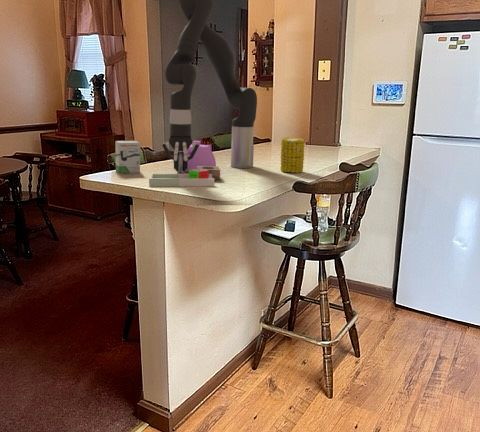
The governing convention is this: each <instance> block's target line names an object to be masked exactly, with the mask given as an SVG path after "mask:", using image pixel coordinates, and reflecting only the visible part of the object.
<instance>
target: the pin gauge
mask: <svg viewBox="0 0 480 432" xmlns="http://www.w3.org/2000/svg"><path fill="white" fill-rule="evenodd" d="M177 161H178V171H176V174H185V172H184V152H183V151H178V156H177Z"/></svg>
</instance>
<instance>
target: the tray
mask: <svg viewBox="0 0 480 432" xmlns="http://www.w3.org/2000/svg"><path fill="white" fill-rule="evenodd" d="M148 187H180V186H179V178H178V174H177V173H149V177H148Z"/></svg>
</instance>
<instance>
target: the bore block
mask: <svg viewBox="0 0 480 432" xmlns="http://www.w3.org/2000/svg"><path fill="white" fill-rule="evenodd" d="M197 169H205V170H209V174H212V178H214V182H216V181H221V168H220V167H219V166H218V165H216V166H197Z"/></svg>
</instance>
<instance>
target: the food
mask: <svg viewBox="0 0 480 432" xmlns="http://www.w3.org/2000/svg"><path fill="white" fill-rule="evenodd" d="M280 144H281V147H280V148H281V149H280V172H282V173H284V172H285V173H287V172H288V173H295V174H298V173H299V174H300V173H302V172H303V171H304V163H305V162H304V160H305V159H304V158H305V139H303V138H301V137H298V138H297V137H290V136H287V137H283V138H281V143H280Z"/></svg>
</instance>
